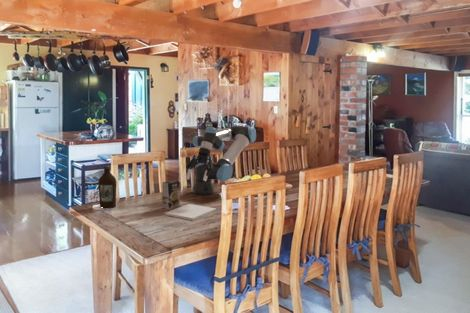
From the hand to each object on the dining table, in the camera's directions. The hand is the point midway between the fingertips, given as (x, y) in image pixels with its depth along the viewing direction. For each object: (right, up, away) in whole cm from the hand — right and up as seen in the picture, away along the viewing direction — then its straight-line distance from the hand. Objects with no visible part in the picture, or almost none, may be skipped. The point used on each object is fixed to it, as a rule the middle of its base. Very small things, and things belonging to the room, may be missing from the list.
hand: (195, 179), depth 268 cm
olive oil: (-53, -16, -8) cm, 56 cm away
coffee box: (-15, -17, -7) cm, 23 cm away
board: (-1, -18, -17) cm, 25 cm away
